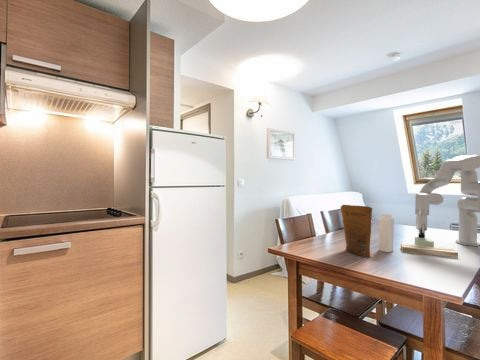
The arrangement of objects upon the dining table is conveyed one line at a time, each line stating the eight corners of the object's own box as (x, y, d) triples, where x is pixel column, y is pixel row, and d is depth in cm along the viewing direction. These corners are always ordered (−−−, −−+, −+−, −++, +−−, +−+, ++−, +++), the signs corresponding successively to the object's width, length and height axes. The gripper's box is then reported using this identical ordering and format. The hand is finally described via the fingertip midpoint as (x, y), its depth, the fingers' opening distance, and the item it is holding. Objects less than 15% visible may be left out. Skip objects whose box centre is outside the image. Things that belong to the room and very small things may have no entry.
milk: (388, 252, 154) (389, 215, 154) (378, 250, 159) (378, 214, 159) (393, 250, 158) (394, 214, 158) (382, 248, 163) (383, 213, 163)
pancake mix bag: (367, 259, 141) (368, 207, 141) (338, 250, 158) (339, 203, 157) (375, 257, 144) (376, 206, 144) (346, 249, 161) (347, 203, 161)
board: (400, 248, 165) (400, 243, 165) (452, 253, 154) (452, 248, 154) (402, 252, 156) (403, 247, 156) (457, 258, 145) (458, 252, 145)
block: (414, 246, 170) (414, 237, 170) (429, 247, 167) (429, 238, 167) (417, 250, 161) (417, 240, 161) (433, 251, 158) (433, 241, 158)
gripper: (413, 210, 178) (412, 237, 178) (417, 213, 165) (416, 242, 165) (426, 211, 175) (426, 238, 175) (431, 214, 162) (431, 244, 162)
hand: (421, 240), depth 170 cm, fingers closed
